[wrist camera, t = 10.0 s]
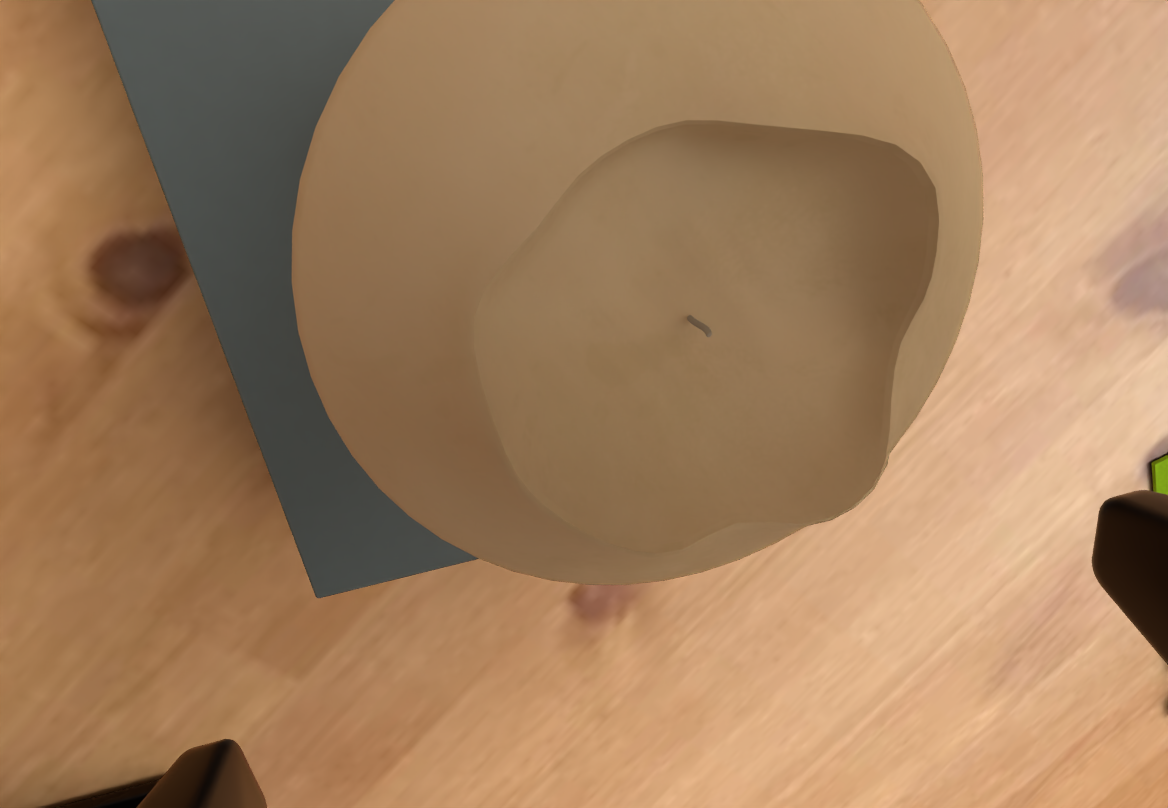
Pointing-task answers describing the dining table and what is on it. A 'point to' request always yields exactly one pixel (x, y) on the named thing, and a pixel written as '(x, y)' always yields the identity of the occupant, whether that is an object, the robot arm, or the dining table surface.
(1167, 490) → the cloth
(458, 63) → the candle
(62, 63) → the dining table surface
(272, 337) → the shelf
